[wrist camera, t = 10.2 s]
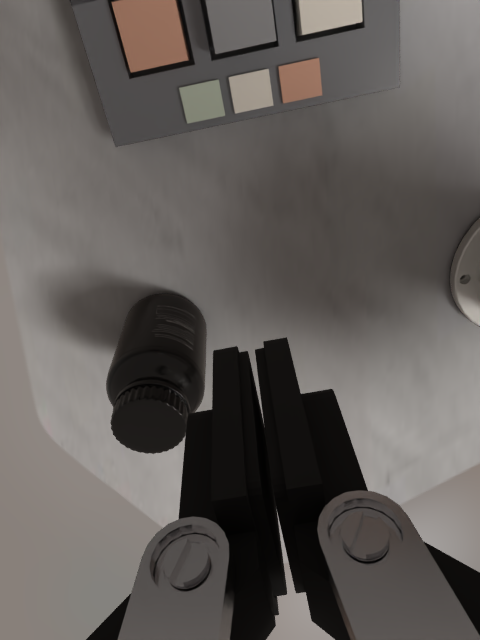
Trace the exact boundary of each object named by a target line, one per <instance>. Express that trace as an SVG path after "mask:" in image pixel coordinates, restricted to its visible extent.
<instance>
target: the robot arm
mask: <svg viewBox="0 0 480 640" xmlns="http://www.w3.org/2000/svg"><path fill="white" fill-rule="evenodd" d="M450 285H451V293H452V295H453V298H454V301H455V303H456V305H457V306H458V308H459V309H460V310H461V312H462V313H463V314H464V315H465V316H466V317H467V318H468V319H469V320H470V321H471V322H473V323H474V324H476V325H477V326H479V327H480V218H479V219H478V220H477V221H476V222H475V223H474V224H473V225H472V227H471V228H470V229H469V231H468V232H467V233H466V235H465V236H464V238H463V239H462V241H461V243H460V245H459V247H458V249H457V251H456V253H455V256H454V259H453V263H452V266H451V274H450ZM263 343H264V348H261V349H256V350H255V354H256V362H257V370H258V378H259V386H260V394H261V402H262V410H263V418H264V423H263V418H262V414H261V409H260V404H259V400H258V395H257V391H256V386H255V381H254V377H253V372H252V368H251V363H250V358H249V354H248V351H245V352H239V350H238V347H231V348H225V349H220V350H214V351H213V401H212V410H207V411H201V412H195V413H189V415H188V418H187V426H186V438H185V450H184V462H183V474H182V486H181V498H180V510H179V520H176V521H174V522H172V523H170V524H168V525H166V526H165V527H164V528H163V529H161V530H160V531H159V532H158V533H156V535H155V536H154V537H153V539H152V540H151V541H150V542H149V544H148V545H147V547H146V549H145V552H144V554H143V556H142V559H141V562H140V566H139V569H138V572H137V576H136V579H135V582H134V586H133V589H132V593H131V594H130V595H129V596H128V597H127V598H126V599H125V600H124V601H123V602H122V603H121V604H120V605H119V606H118V607H117V608H116V609H115V610H114V611H113V612H112V614H111V615H110V616H109V617H108V618H107V619H106V620H105V621H104V622H103V623H102V624H101V625H100V626H99V627H98V628H97V629H96V630H95V631H94V632H93V633H92V634H91V635H90V636H89V637H88V638H87V639H86V640H266V639H267V637H268V636H269V634H270V633H271V632H272V630H273V629H274V627H275V626H276V625H275V615H279V612H278V602H277V596H281V595H286V594H287V588H286V580H285V572H284V564H283V556H282V549H281V541H280V533H279V525H278V517H277V512H278V516H279V521H280V525H281V530H282V534H283V538H284V543H285V547H286V552H287V556H288V560H289V565H290V569H291V573H292V578H293V582H294V587H295V591H296V593H301V592H306V595H307V600H308V605H309V610H310V615H311V619H312V621H313V622H314V623H316V624H317V625H318V626H319V627H320V628H322V629H323V630H324V631H325V632H327V633H328V634H329V635H330V636H332V637H333V638H334V639H335V640H480V573H479V572H477V571H476V570H474V569H472V568H470V567H469V566H467V565H465V564H463V563H461V562H459V561H458V560H456V559H454V558H452V557H451V556H449V555H447V554H445V553H443V552H442V551H440V550H438V549H436V548H434V547H433V546H431V545H429V544H427V543H425V542H423V540H422V538H421V537H420V535H419V534H418V532H417V530H416V528H415V527H414V525H413V523H412V522H411V520H410V518H409V517H408V515H407V514H406V513H405V512H404V511H403V509H402V508H401V507H400V506H399V505H398V504H397V503H395V502H394V501H393V500H391V499H390V498H388V497H387V496H384V495H381V494H379V493H376V492H372V491H368V490H367V487H366V484H365V481H364V478H363V475H362V472H361V469H360V466H359V463H358V460H357V457H356V455H355V452H354V449H353V446H352V443H351V440H350V437H349V434H348V431H347V428H346V425H345V422H344V420H343V417H342V414H341V411H340V408H339V405H338V402H337V399H336V396H335V394H334V391H333V390H332V389H329V390H323V391H317V392H311V393H305V394H301V393H300V389H299V385H298V381H297V377H296V373H295V369H294V365H293V360H292V356H291V352H290V348H289V344H288V340H287V337H286V338H281V339H275V340H270V341H264V342H263ZM264 426H265V427H264ZM276 508H277V510H276Z"/></svg>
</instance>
